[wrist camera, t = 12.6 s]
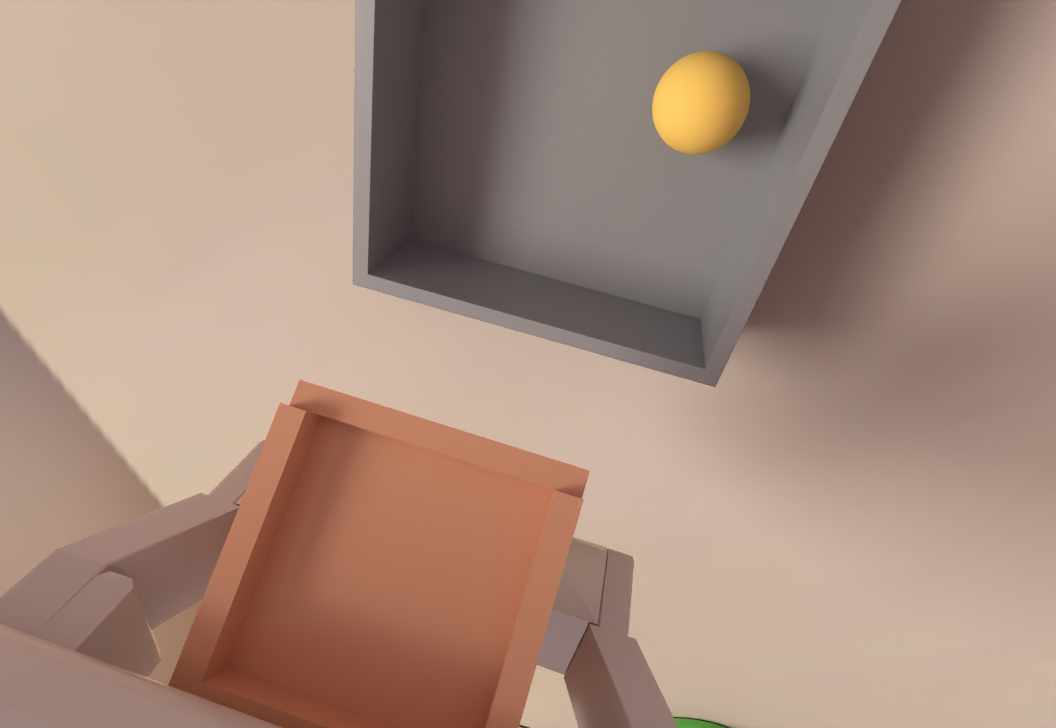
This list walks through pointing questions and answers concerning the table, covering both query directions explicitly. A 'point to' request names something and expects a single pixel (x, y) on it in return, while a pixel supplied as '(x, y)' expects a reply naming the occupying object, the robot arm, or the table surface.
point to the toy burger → (695, 723)
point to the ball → (701, 102)
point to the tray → (591, 163)
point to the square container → (383, 573)
